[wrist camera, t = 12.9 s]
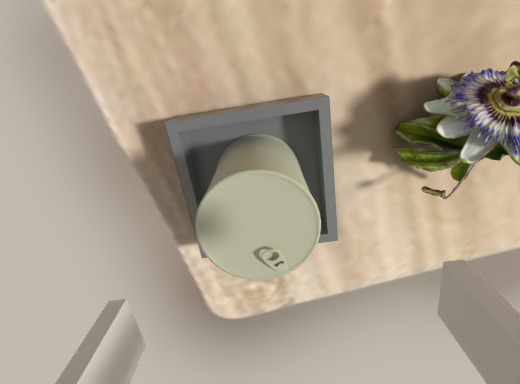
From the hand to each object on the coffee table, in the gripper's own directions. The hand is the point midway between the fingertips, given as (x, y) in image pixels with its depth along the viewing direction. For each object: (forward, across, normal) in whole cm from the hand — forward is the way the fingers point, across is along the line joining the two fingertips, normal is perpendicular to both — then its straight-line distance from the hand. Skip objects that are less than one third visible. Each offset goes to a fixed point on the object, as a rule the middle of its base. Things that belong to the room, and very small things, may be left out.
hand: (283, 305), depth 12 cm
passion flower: (+22, +19, +1) cm, 29 cm away
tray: (+21, -2, -2) cm, 21 cm away
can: (+20, -2, -2) cm, 21 cm away
